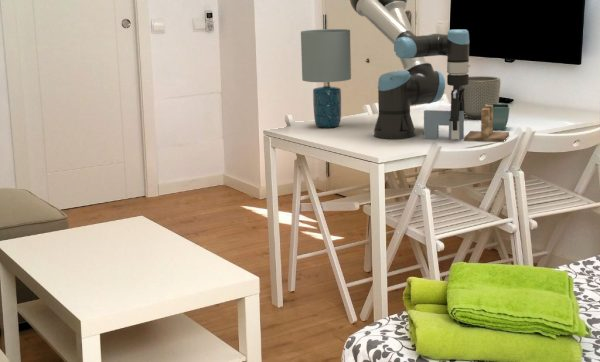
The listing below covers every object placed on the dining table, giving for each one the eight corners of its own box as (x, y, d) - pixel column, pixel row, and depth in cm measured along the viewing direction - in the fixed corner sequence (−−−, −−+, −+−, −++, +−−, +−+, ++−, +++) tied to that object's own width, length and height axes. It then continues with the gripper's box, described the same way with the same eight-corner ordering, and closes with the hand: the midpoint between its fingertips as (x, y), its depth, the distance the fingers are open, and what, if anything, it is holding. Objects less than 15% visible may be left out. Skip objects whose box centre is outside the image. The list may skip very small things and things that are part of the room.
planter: (498, 121, 355) (499, 81, 352) (454, 120, 360) (454, 81, 356) (501, 114, 371) (501, 75, 368) (459, 113, 376) (459, 75, 372)
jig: (464, 140, 318) (464, 109, 315) (470, 134, 330) (470, 104, 327) (504, 142, 313) (505, 110, 311) (508, 135, 325) (509, 104, 323)
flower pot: (509, 131, 334) (509, 107, 332) (485, 130, 336) (485, 107, 334) (508, 126, 342) (509, 103, 340) (485, 126, 344) (485, 103, 342)
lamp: (317, 121, 369) (314, 29, 361) (359, 123, 360) (358, 29, 352) (295, 129, 353) (291, 32, 344) (339, 131, 344) (336, 32, 335)
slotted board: (423, 138, 325) (423, 111, 322) (425, 137, 327) (425, 110, 325) (462, 139, 320) (462, 112, 318) (463, 138, 322) (463, 111, 320)
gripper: (463, 77, 306) (462, 142, 311) (473, 70, 325) (472, 132, 330) (441, 77, 308) (441, 142, 313) (452, 70, 327) (452, 131, 332)
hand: (457, 136), depth 322 cm, fingers open, 8 cm apart
